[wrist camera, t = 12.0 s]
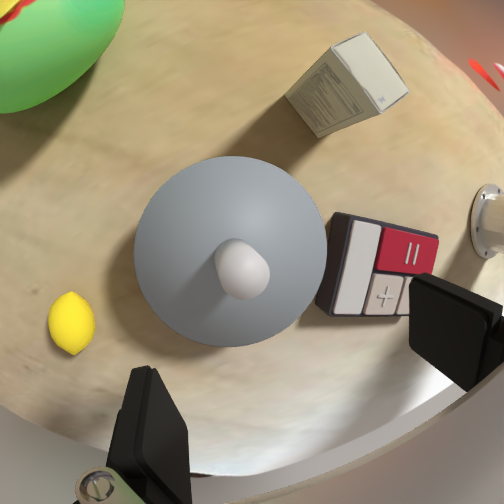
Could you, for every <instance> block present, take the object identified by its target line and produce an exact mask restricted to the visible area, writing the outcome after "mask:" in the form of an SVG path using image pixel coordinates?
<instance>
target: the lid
mask: <svg viewBox="0 0 504 504" xmlns="http://www.w3.org/2000/svg"><path fill="white" fill-rule="evenodd" d="M326 259H327V239H326V232H325V227H324V224H323V220H322V217H321V215H320V212H319V210H318V208H317V206H316V204H315V202H314V201H313V199H312V197H311V196H310V195H309V193H308V192H307V191H306V190H305V188H304V187H303V186H302V185H301V184H300V183H299V182H298V181H297V180H296V179H295V178H293V177H292V176H291V175H289V174H288V173H287V172H285V171H284V170H282V169H280V168H278V167H276V166H275V165H273V164H270V163H267V162H265V161H262V160H258V159H254V158H249V157H240V156H225V157H217V158H212V159H207V160H204V161H201V162H198V163H195V164H193V165H191V166H189V167H187V168H185V169H183V170H181V171H180V172H178V173H177V174H176V175H174V176H173V177H171V178H170V179H169V180H168V181H167V182H166V183H165V184H164V185H162V186H161V187H160V188H159V190H158V191H157V192H156V193H155V195H154V196H153V197H152V198H151V200H150V202H149V203H148V205H147V206H146V208H145V210H144V212H143V214H142V217H141V219H140V221H139V224H138V228H137V232H136V235H135V243H134V266H135V272H136V277H137V280H138V284H139V287H140V289H141V291H142V293H143V296H144V298H145V300H146V301H147V303H148V304H149V306H150V308H151V309H152V310H153V311H154V313H155V314H156V315H157V316H158V317H159V319H161V320H162V321H163V322H164V323H165V324H166V325H167V326H168V327H170V328H171V329H172V330H174V331H175V332H177V333H178V334H180V335H182V336H184V337H186V338H188V339H190V340H193V341H196V342H198V343H201V344H206V345H210V346H218V347H238V346H246V345H250V344H254V343H258V342H261V341H263V340H266V339H268V338H270V337H272V336H274V335H276V334H278V333H280V332H281V331H283V330H284V329H285V328H287V327H288V326H290V325H291V324H292V323H293V322H294V321H295V320H296V319H298V318H299V317H300V315H301V314H302V313H303V312H304V311H305V310H306V309H307V307H308V306H309V304H310V303H311V301H312V300H313V298H314V296H315V294H316V293H317V291H318V289H319V286H320V284H321V281H322V278H323V275H324V271H325V267H326Z"/></svg>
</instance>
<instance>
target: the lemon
mask: <svg viewBox="0 0 504 504" xmlns="http://www.w3.org/2000/svg"><path fill="white" fill-rule="evenodd" d="M48 326H49V330H50V334H51V337H52V339H53V340H54V341H55V343H56V344H57V345H58V346H59V347H61V348H62V349H64V350H66V351H67V352H69V353H71V354H72V355H76V354H77V353H78V352H80V351H81V350H83V349H84V348H85V347H86V346H87V345H88V344H89V342H90V341H91V340H92V338H93V335H94V332H95V320H94V315H93V311H92V309H91V307H90V306H89V304H88V302H87V301H85V300H84V299H83V298H82V297H81V296H79V295H78V294H76V293H74V292H68V293H66V294H64V295H62V296H61V297H59V298H58V299H56V300H55V302H54V303H53V304H52V306H51V307H50V310H49V317H48Z"/></svg>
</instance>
